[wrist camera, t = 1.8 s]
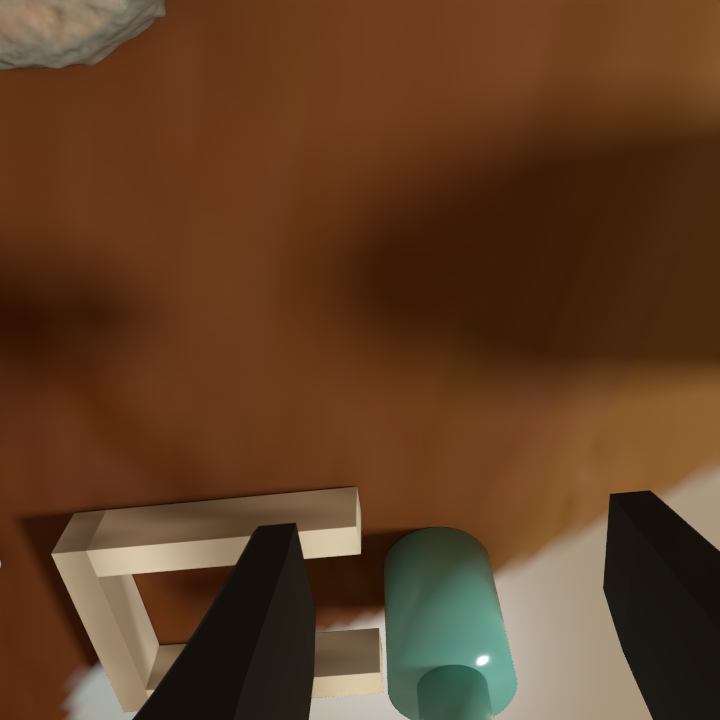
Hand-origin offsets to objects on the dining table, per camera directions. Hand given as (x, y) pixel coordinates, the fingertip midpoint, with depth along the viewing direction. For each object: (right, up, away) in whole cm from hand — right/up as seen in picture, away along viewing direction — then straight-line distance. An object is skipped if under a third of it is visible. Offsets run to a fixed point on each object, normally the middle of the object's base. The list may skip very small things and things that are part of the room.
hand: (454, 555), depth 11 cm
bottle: (+1, -5, +14) cm, 15 cm away
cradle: (-6, -5, +15) cm, 17 cm away
